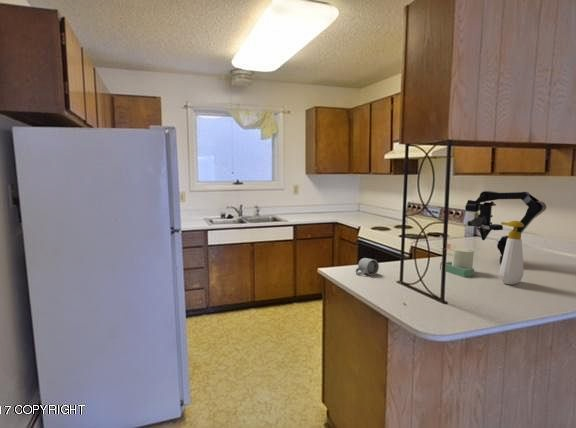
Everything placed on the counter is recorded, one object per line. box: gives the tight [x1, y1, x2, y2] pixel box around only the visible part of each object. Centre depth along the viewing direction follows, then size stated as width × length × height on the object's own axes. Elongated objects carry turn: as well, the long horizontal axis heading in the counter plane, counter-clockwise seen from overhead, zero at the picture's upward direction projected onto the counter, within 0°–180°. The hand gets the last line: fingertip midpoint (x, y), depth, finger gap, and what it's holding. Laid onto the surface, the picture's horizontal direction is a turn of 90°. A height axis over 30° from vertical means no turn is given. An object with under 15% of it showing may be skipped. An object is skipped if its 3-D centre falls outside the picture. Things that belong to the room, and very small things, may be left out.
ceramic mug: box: [355, 257, 380, 276], centre depth 176 cm, size 11×8×8 cm
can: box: [452, 247, 475, 269], centre depth 180 cm, size 9×9×12 cm
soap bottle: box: [499, 220, 525, 286], centre depth 162 cm, size 13×10×29 cm
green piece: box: [439, 243, 475, 278], centre depth 178 cm, size 6×15×14 cm, turn 22°
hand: (483, 240), depth 203 cm, fingers closed
